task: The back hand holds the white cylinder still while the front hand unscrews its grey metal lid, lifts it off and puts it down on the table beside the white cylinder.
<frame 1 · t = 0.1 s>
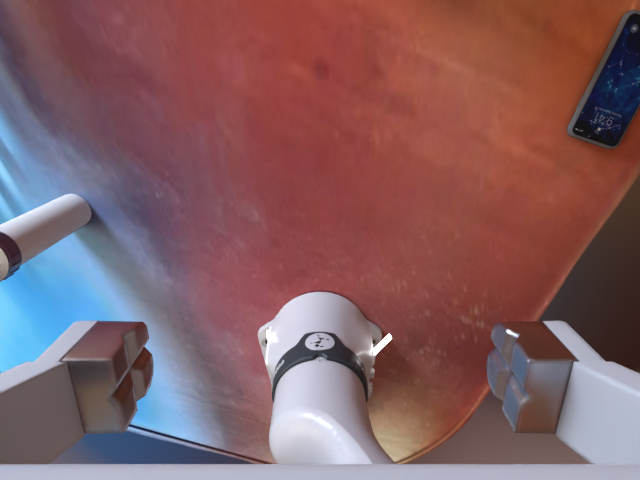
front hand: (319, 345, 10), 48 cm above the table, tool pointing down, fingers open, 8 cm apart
smartphone: (617, 83, 53), on the table
white cylinder: (74, 210, 59), on the table
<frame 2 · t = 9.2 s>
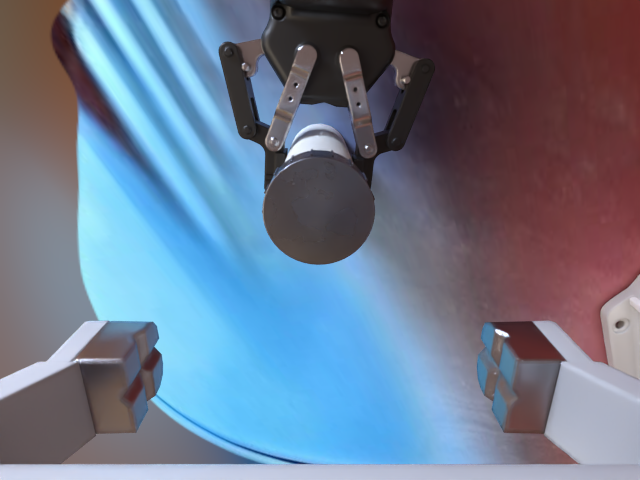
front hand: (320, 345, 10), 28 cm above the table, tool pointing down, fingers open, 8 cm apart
back hand: (316, 203, 31), fingers closed on white cylinder, 4 cm apart
white cylinder: (319, 152, 36), on the table, touching back hand
lid: (318, 211, 20), point 17 cm above the table, screwed on, not yet turned
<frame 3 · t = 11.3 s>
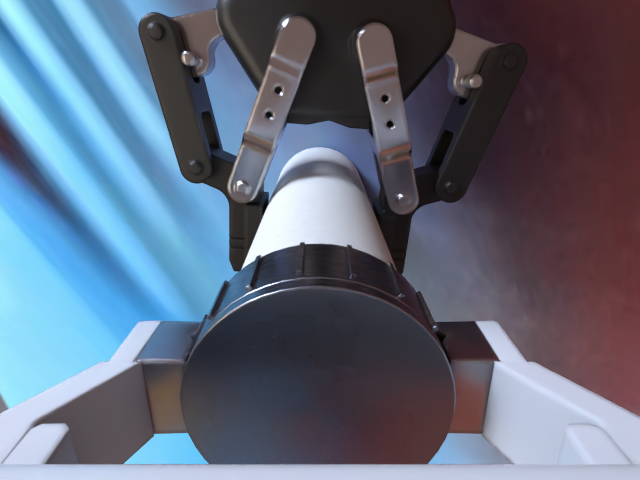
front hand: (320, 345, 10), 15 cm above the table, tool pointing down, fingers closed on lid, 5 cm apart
back hand: (315, 280, 19), fingers closed on white cylinder, 4 cm apart
white cylinder: (319, 188, 24), on the table, touching back hand
lid: (318, 396, 9), point 17 cm above the table, screwed on, not yet turned, touching front hand
when the front hand's fingers open (15 cm above the table, at t = 12.4 s): lid stays where it is, point 17 cm above the table.
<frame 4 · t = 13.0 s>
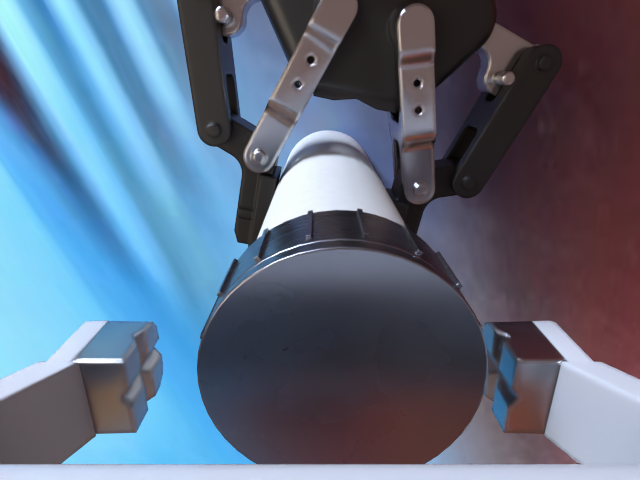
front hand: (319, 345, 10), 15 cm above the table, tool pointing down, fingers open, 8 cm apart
white cylinder: (327, 173, 24), on the table, touching back hand
lid: (341, 369, 8), point 17 cm above the table, turned 55° so far, risen 0.2 cm, still on its thread
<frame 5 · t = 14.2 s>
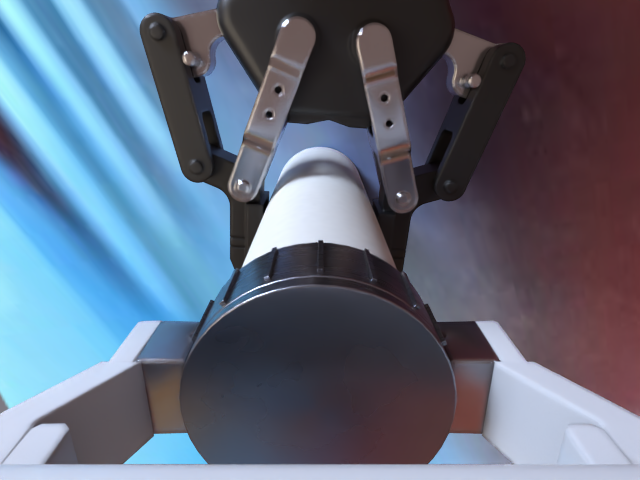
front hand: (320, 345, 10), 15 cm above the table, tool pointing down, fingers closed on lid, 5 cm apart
back hand: (316, 278, 19), fingers closed on white cylinder, 4 cm apart
white cylinder: (319, 188, 24), on the table, touching back hand
lid: (318, 396, 8), point 17 cm above the table, turned 55° so far, risen 0.2 cm, still on its thread, touching front hand
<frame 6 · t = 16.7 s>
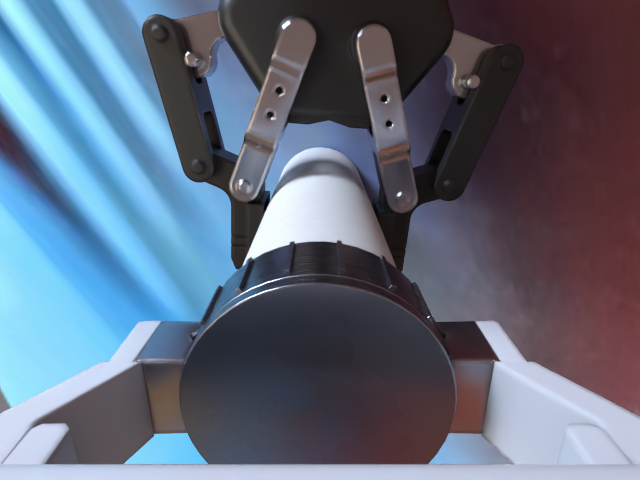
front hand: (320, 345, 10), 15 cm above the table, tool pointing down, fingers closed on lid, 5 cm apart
back hand: (316, 278, 20), fingers closed on white cylinder, 4 cm apart
white cylinder: (320, 188, 25), on the table, touching back hand
lid: (317, 395, 8), point 17 cm above the table, turned 111° so far, risen 0.3 cm, still on its thread, touching front hand
when the front hand's fingers open (2 cm above the table, at t = 23.5 s): lid drops 2 cm, point 2 cm above the table.
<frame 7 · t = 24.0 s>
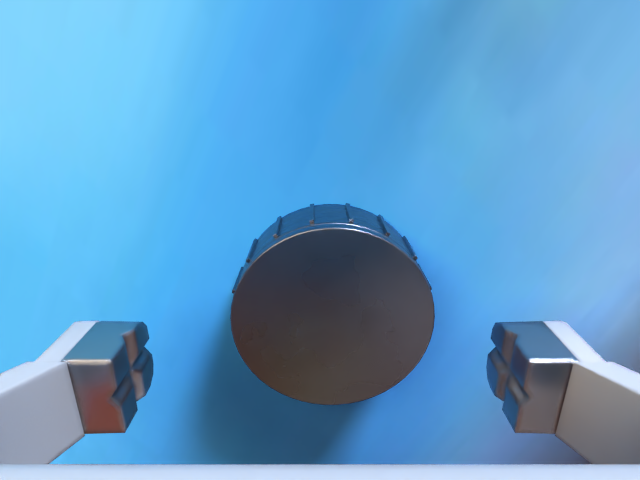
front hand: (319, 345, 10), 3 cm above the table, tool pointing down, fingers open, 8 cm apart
lid: (332, 317, 11), point 2 cm above the table, off its thread
when the back hand's fingers open (6 cm above the table, at t = 24.5 s): white cylinder stays where it is, on the table.
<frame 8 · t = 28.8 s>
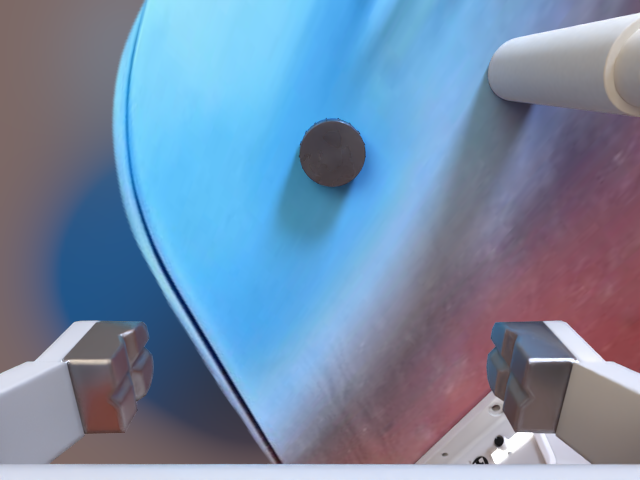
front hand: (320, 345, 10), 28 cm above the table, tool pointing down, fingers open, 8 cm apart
white cylinder: (517, 69, 34), on the table
lid: (332, 153, 35), point 2 cm above the table, off its thread
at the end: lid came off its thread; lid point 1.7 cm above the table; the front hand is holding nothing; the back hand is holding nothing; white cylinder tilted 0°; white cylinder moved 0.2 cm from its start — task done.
